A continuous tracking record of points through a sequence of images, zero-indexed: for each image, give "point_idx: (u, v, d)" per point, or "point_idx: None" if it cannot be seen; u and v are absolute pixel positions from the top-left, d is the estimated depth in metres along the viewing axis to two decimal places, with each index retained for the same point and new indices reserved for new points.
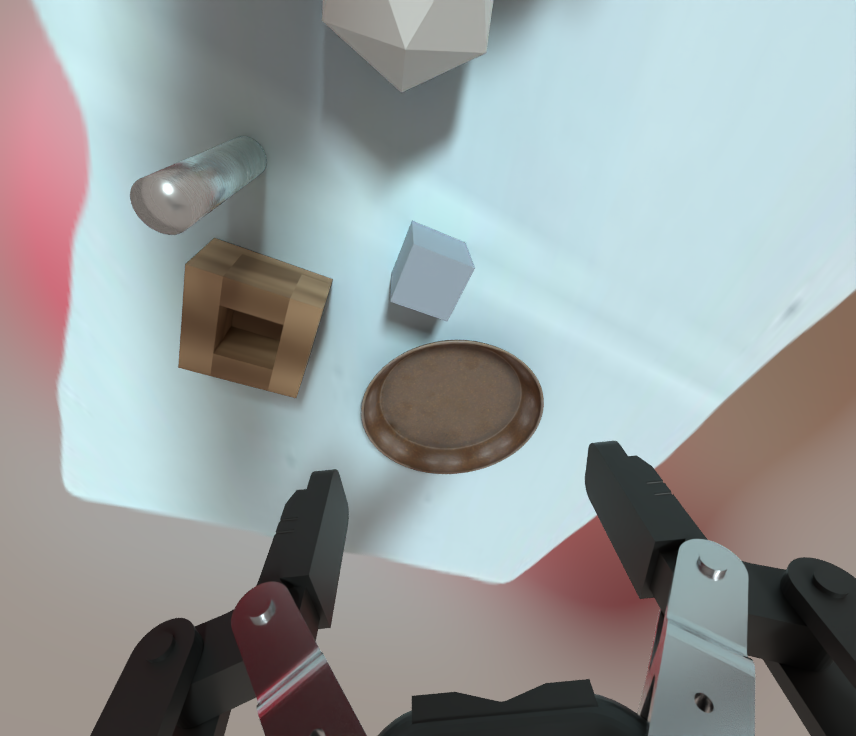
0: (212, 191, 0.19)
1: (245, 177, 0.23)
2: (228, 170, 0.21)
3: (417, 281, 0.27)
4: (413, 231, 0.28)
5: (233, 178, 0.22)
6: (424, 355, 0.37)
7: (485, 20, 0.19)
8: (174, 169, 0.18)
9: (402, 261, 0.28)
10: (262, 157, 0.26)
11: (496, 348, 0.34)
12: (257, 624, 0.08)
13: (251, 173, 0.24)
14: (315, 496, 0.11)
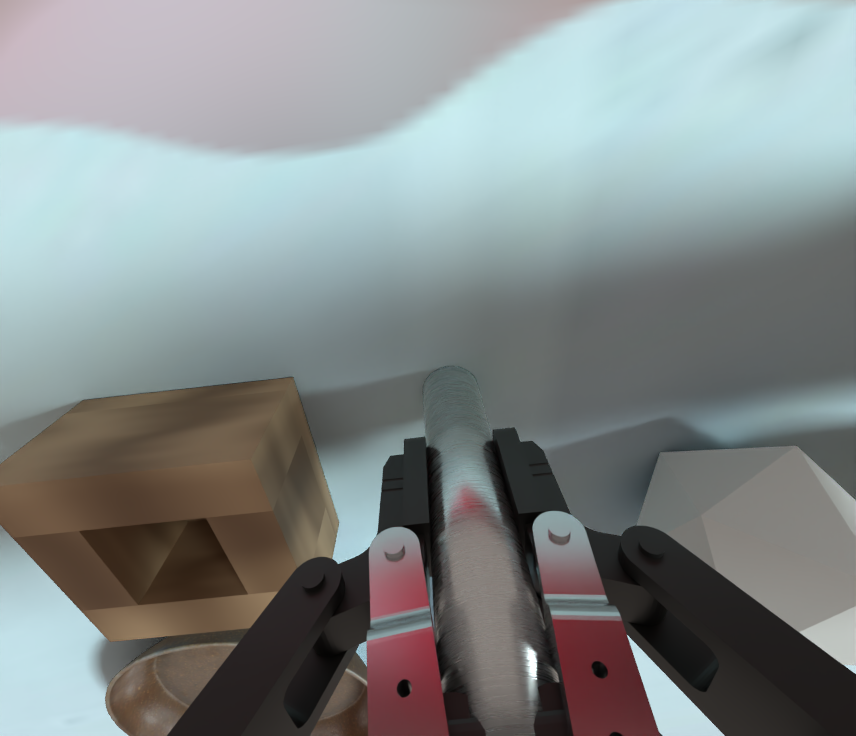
0: None
1: None
2: None
3: None
4: None
5: None
6: None
7: None
8: None
9: None
10: None
11: None
12: (395, 561, 0.09)
13: None
14: (414, 459, 0.12)
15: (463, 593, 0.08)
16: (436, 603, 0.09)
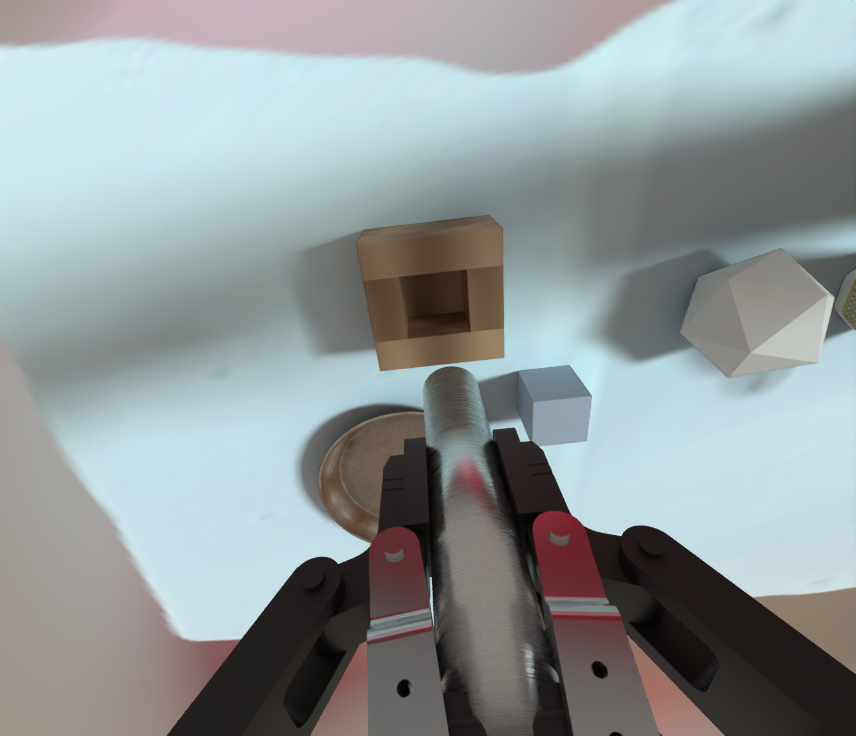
0: None
1: None
2: None
3: (560, 412, 0.31)
4: (579, 379, 0.33)
5: None
6: None
7: (751, 373, 0.29)
8: None
9: (558, 387, 0.32)
10: None
11: None
12: (395, 561, 0.09)
13: None
14: (414, 459, 0.12)
15: (463, 593, 0.08)
16: (436, 603, 0.09)
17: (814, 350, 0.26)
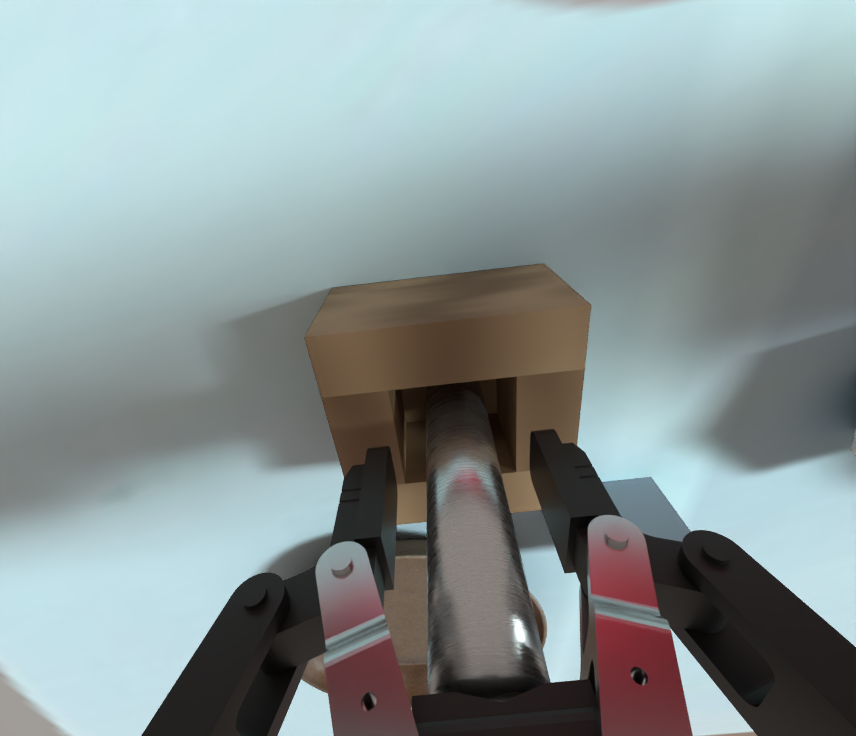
0: None
1: None
2: None
3: None
4: (674, 510, 0.21)
5: None
6: None
7: None
8: None
9: (645, 527, 0.20)
10: None
11: (545, 633, 0.26)
12: (341, 577, 0.09)
13: None
14: (374, 469, 0.12)
15: (453, 553, 0.09)
16: (429, 564, 0.10)
17: None
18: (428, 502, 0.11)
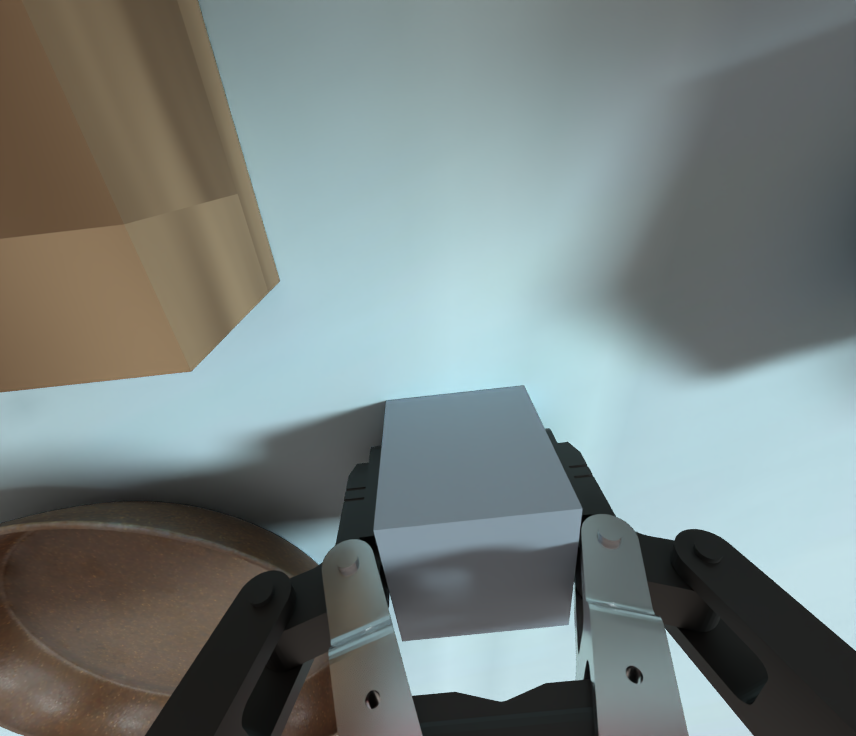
0: None
1: None
2: None
3: (475, 556, 0.09)
4: (545, 434, 0.11)
5: None
6: None
7: None
8: None
9: (476, 464, 0.10)
10: None
11: None
12: (347, 575, 0.09)
13: None
14: (378, 467, 0.12)
15: None
16: None
17: None
18: None
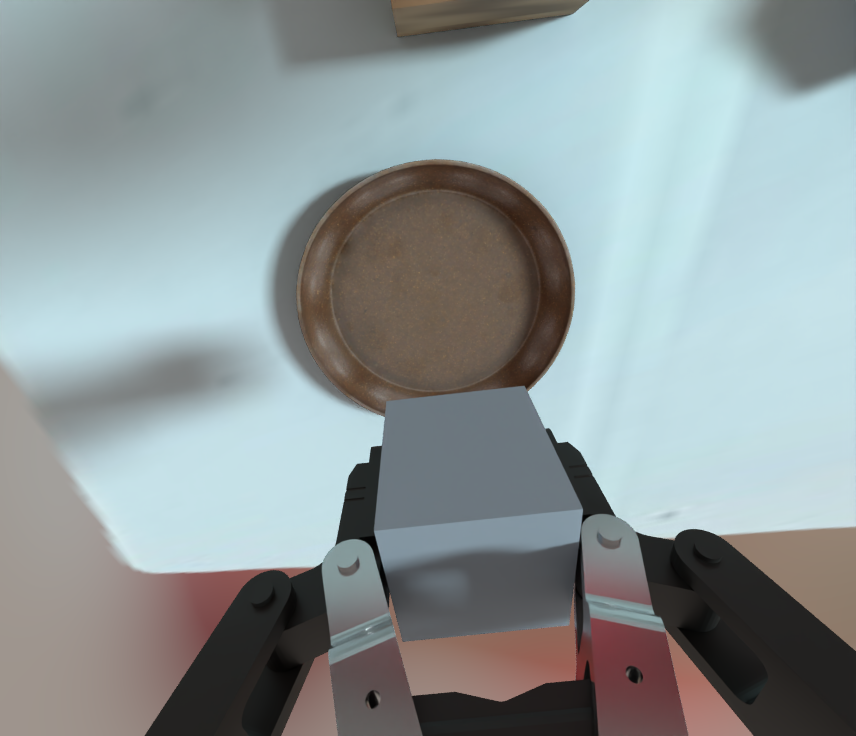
0: None
1: None
2: None
3: (476, 557, 0.09)
4: (546, 435, 0.11)
5: None
6: (496, 225, 0.25)
7: None
8: None
9: (477, 464, 0.10)
10: None
11: (573, 302, 0.25)
12: (347, 575, 0.09)
13: None
14: (378, 467, 0.12)
15: None
16: None
17: None
18: None
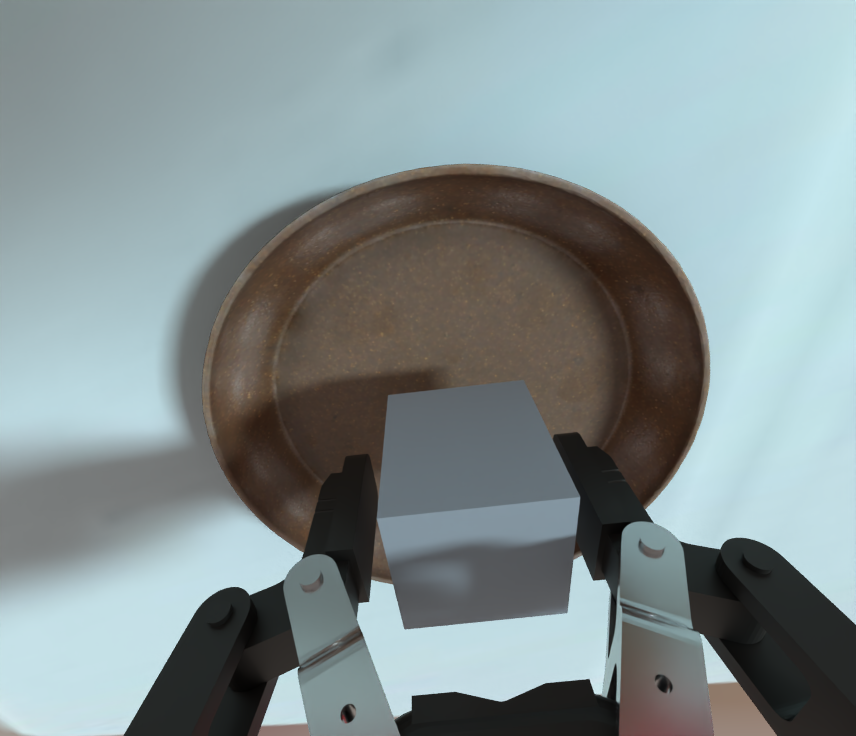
0: None
1: None
2: None
3: (476, 545, 0.09)
4: (544, 427, 0.11)
5: None
6: (564, 280, 0.14)
7: None
8: None
9: (477, 455, 0.10)
10: None
11: (700, 416, 0.14)
12: (309, 592, 0.09)
13: None
14: (351, 478, 0.12)
15: None
16: None
17: None
18: None
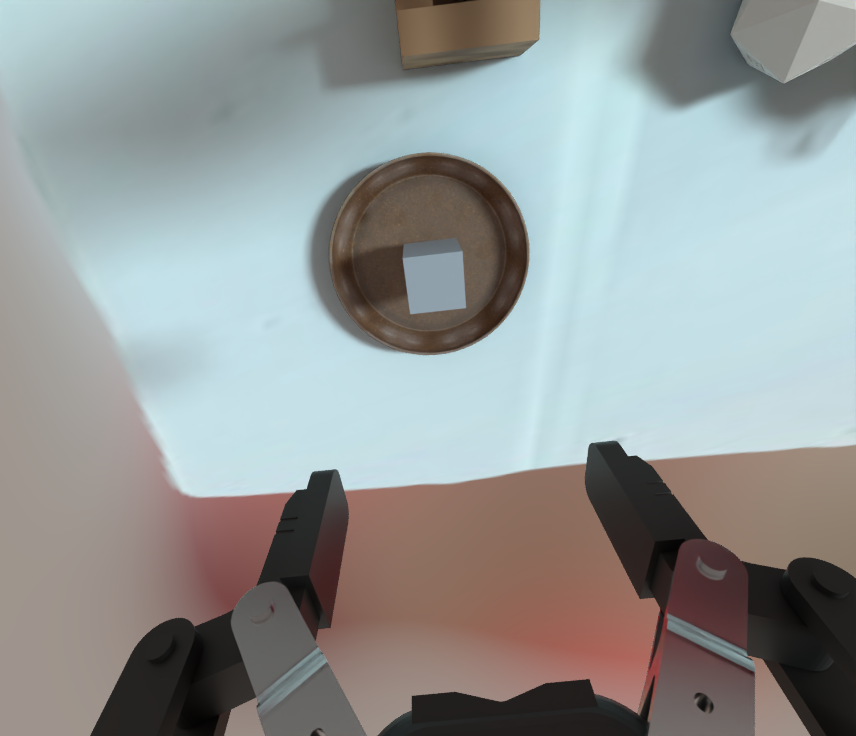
0: None
1: None
2: None
3: (432, 271, 0.30)
4: (458, 244, 0.32)
5: None
6: (472, 200, 0.35)
7: (811, 67, 0.27)
8: None
9: (434, 249, 0.31)
10: None
11: (528, 255, 0.35)
12: (257, 624, 0.08)
13: None
14: (315, 496, 0.11)
15: None
16: None
17: None
18: None
